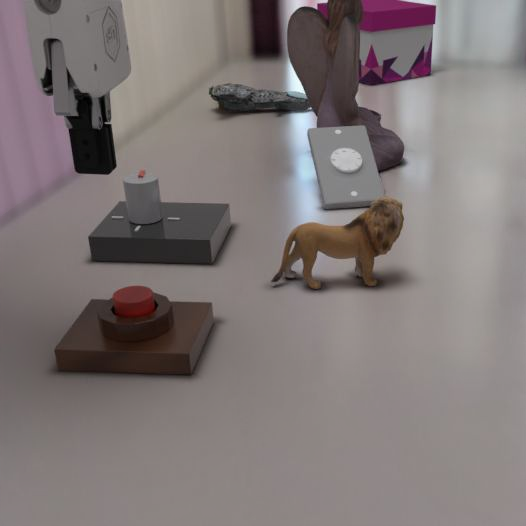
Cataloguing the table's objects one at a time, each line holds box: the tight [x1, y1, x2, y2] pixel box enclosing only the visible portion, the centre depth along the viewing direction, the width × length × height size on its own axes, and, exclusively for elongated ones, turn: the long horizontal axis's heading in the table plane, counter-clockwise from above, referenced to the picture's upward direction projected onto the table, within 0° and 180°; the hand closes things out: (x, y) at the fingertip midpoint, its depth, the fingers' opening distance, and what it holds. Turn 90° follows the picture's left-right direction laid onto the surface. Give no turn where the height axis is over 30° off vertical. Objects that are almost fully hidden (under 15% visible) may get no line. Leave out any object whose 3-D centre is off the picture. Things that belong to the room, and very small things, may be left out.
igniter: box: [53, 291, 215, 376], centre depth 74 cm, size 12×10×4 cm
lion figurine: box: [270, 196, 405, 290], centre depth 86 cm, size 15×5×9 cm, turn 104°
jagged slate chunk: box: [208, 82, 311, 113], centre depth 154 cm, size 16×20×5 cm
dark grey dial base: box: [87, 200, 232, 265], centre depth 96 cm, size 14×12×3 cm
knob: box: [122, 169, 163, 224], centre depth 94 cm, size 4×4×5 cm
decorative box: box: [316, 0, 437, 86], centre depth 183 cm, size 19×19×15 cm
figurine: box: [286, 0, 405, 172], centre depth 121 cm, size 18×15×25 cm
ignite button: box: [111, 285, 155, 318], centre depth 73 cm, size 4×4×2 cm
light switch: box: [306, 125, 386, 210], centre depth 113 cm, size 8×6×14 cm
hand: (96, 170), depth 70 cm, fingers closed
